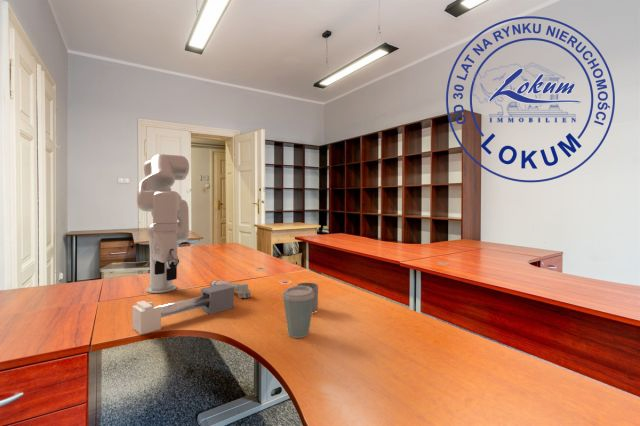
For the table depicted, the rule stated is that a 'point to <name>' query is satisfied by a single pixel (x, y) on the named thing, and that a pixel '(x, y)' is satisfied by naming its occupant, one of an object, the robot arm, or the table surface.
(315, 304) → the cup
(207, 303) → the tube
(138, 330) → the socket
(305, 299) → the disposable coffee cup
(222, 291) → the grey rectangular box
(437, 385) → the table surface
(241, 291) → the grey stepped bar
